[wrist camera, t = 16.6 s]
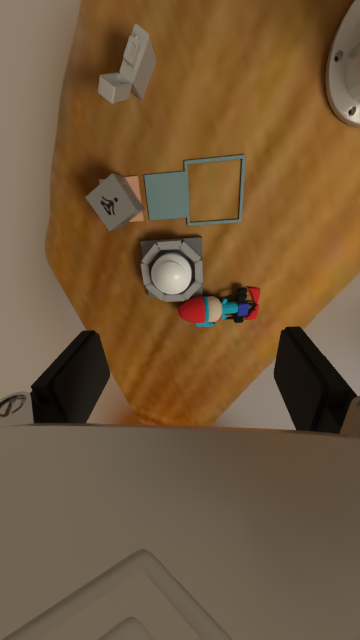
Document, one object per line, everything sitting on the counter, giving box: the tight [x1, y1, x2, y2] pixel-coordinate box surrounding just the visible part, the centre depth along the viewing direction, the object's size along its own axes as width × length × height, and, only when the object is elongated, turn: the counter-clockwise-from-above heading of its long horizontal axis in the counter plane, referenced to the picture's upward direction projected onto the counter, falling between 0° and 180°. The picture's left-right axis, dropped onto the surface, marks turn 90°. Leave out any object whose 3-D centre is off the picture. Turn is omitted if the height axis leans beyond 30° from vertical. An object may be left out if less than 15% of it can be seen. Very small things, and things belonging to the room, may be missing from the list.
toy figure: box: [178, 287, 260, 326], centre depth 39 cm, size 8×5×15 cm
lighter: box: [98, 24, 157, 103], centre depth 24 cm, size 7×2×8 cm, turn 148°
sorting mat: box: [99, 155, 246, 226], centre depth 32 cm, size 21×8×1 cm, turn 94°
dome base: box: [141, 237, 203, 302], centre depth 36 cm, size 10×10×3 cm
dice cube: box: [85, 173, 145, 231], centre depth 31 cm, size 5×5×5 cm
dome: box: [151, 252, 192, 294], centre depth 35 cm, size 6×6×4 cm
